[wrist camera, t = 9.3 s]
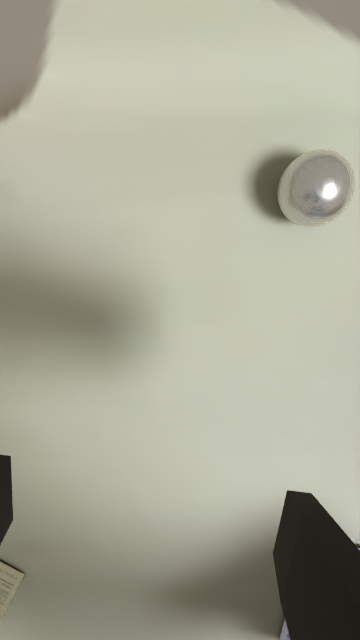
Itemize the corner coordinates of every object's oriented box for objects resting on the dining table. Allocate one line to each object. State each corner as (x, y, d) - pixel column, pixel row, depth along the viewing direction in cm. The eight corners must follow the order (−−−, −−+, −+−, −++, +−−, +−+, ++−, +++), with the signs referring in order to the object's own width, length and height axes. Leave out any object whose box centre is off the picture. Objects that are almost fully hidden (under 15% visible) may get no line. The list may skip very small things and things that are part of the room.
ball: (328, 230, 16) (359, 228, 13) (265, 224, 16) (281, 221, 13) (342, 162, 15) (378, 143, 12) (276, 156, 15) (296, 136, 12)
